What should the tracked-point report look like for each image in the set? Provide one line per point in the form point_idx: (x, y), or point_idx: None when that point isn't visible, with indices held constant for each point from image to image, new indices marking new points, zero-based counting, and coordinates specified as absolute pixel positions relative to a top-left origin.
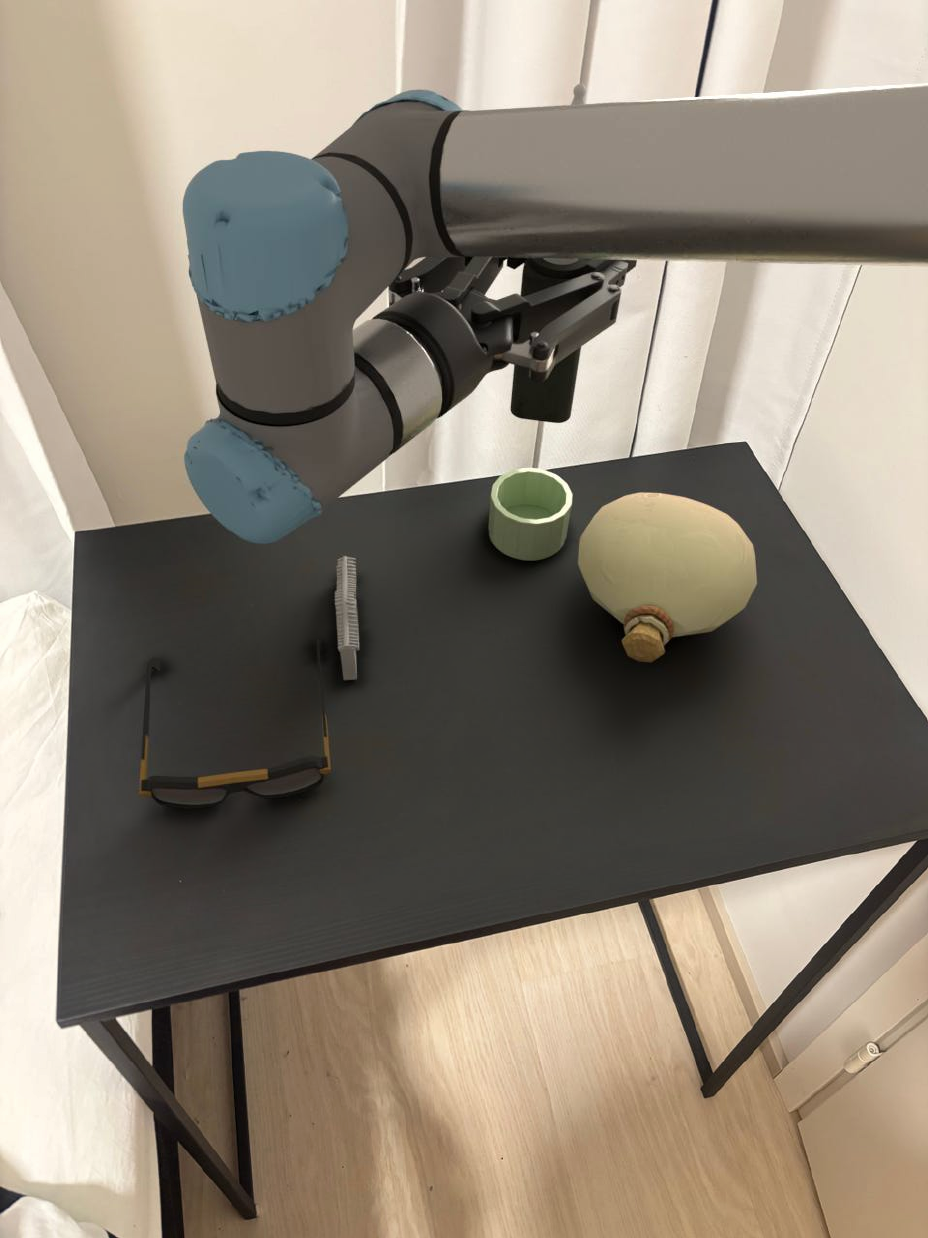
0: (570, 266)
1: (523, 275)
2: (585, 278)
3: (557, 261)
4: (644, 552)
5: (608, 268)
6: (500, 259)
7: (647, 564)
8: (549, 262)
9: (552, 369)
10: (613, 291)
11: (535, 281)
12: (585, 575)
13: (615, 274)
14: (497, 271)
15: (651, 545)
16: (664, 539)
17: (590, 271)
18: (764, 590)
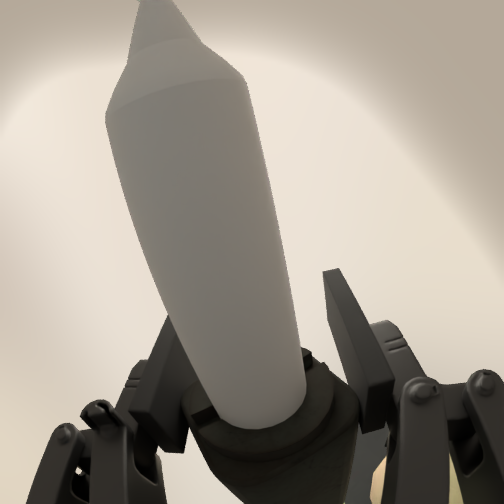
0: (313, 406)
1: (222, 482)
2: (418, 421)
3: (280, 418)
4: (453, 495)
5: (384, 353)
6: (148, 461)
7: (461, 498)
8: (261, 429)
9: (327, 501)
10: (495, 388)
11: (263, 484)
12: None
13: (411, 354)
14: (160, 489)
15: (452, 487)
16: (455, 475)
17: (383, 391)
18: None
